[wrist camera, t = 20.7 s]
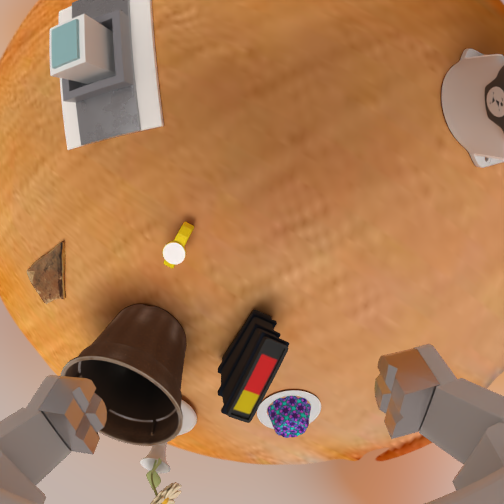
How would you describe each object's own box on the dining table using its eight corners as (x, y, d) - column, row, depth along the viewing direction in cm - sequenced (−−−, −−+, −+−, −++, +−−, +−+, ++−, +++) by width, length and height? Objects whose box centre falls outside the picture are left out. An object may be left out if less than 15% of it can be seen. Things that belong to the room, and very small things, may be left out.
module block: (115, 33, 30) (81, 12, 21) (118, 74, 33) (82, 60, 24) (85, 44, 31) (46, 27, 22) (87, 84, 33) (47, 75, 24)
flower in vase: (183, 432, 57) (166, 538, 34) (132, 410, 55) (99, 515, 31) (212, 400, 53) (200, 523, 30) (154, 373, 51) (116, 496, 28)
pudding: (333, 403, 55) (338, 423, 50) (288, 434, 58) (291, 453, 53) (288, 377, 52) (292, 399, 47) (243, 412, 55) (243, 433, 50)
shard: (66, 238, 42) (61, 241, 41) (93, 279, 45) (88, 284, 43) (28, 267, 44) (23, 271, 42) (53, 304, 47) (48, 309, 45)
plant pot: (86, 330, 48) (44, 394, 33) (135, 268, 44) (90, 332, 29) (160, 386, 52) (140, 457, 37) (219, 337, 48) (210, 416, 33)
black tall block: (210, 376, 49) (222, 417, 34) (245, 303, 50) (271, 319, 36) (231, 384, 49) (251, 426, 35) (266, 313, 51) (299, 332, 37)
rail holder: (150, -19, 29) (139, -34, 24) (164, 126, 37) (152, 125, 32) (62, 13, 30) (44, 4, 25) (71, 149, 37) (52, 152, 33)
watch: (182, 214, 41) (174, 224, 36) (201, 224, 42) (196, 235, 36) (164, 253, 43) (153, 268, 37) (181, 262, 43) (174, 278, 38)
